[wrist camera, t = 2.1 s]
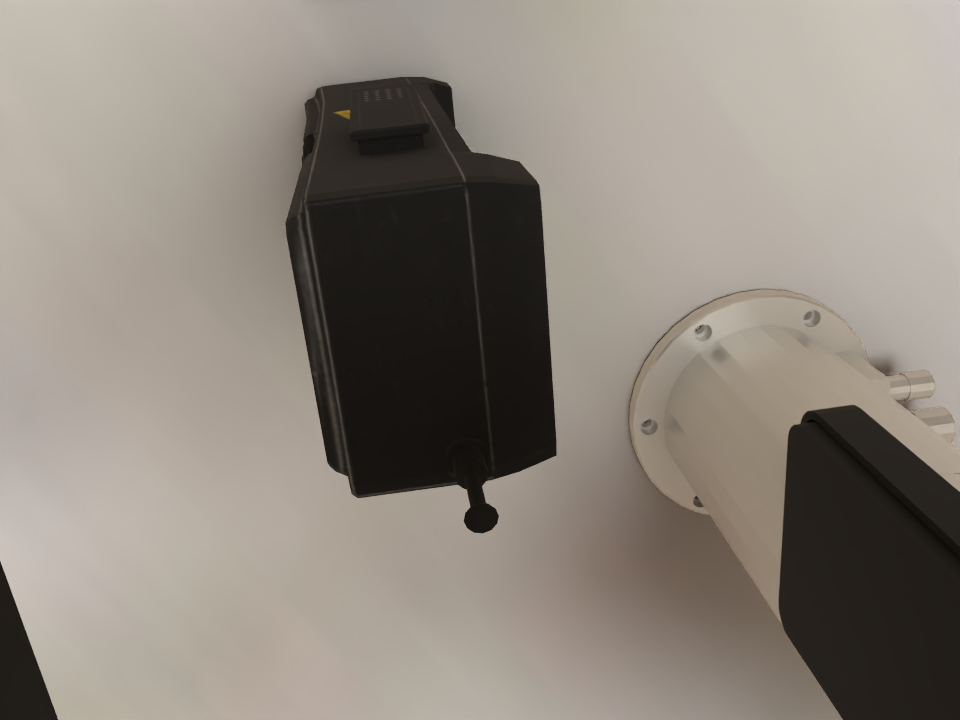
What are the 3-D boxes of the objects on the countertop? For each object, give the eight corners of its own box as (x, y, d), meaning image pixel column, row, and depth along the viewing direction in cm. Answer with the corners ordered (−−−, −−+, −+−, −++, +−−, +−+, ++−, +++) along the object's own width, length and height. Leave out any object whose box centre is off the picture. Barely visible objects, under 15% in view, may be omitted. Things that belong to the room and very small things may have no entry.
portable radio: (298, 62, 37) (200, 182, 15) (441, 47, 38) (563, 141, 15) (328, 243, 41) (285, 577, 18) (459, 228, 41) (583, 533, 18)
